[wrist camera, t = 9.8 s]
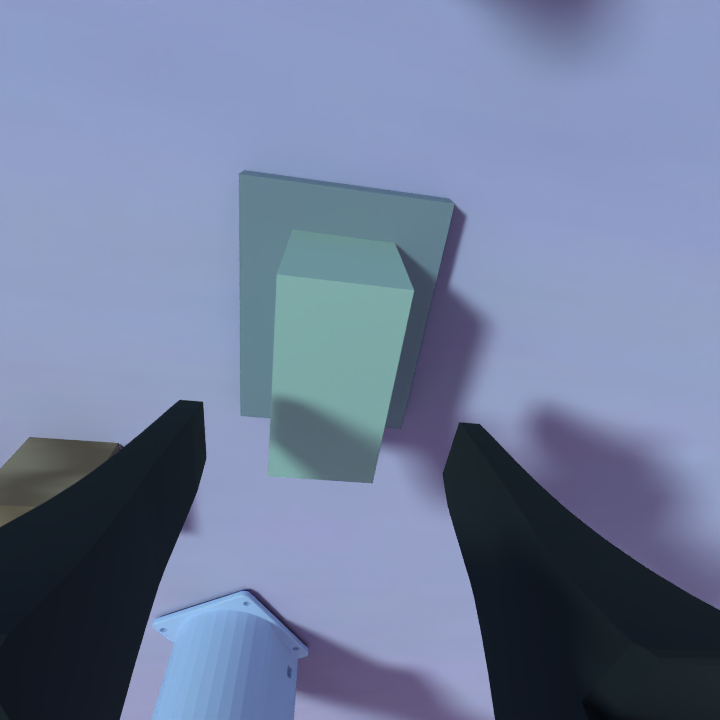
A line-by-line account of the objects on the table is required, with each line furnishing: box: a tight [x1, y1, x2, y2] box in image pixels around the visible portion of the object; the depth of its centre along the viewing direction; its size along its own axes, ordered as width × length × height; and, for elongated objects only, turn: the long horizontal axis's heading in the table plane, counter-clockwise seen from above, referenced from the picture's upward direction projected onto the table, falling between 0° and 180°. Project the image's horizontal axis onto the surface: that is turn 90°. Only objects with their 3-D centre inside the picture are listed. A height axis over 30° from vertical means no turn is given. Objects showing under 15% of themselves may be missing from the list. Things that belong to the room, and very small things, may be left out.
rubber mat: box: [239, 170, 455, 428], centre depth 19 cm, size 11×8×1 cm
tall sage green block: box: [268, 230, 414, 483], centre depth 17 cm, size 8×4×5 cm, turn 172°
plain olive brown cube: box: [0, 437, 120, 527], centre depth 22 cm, size 5×4×4 cm
